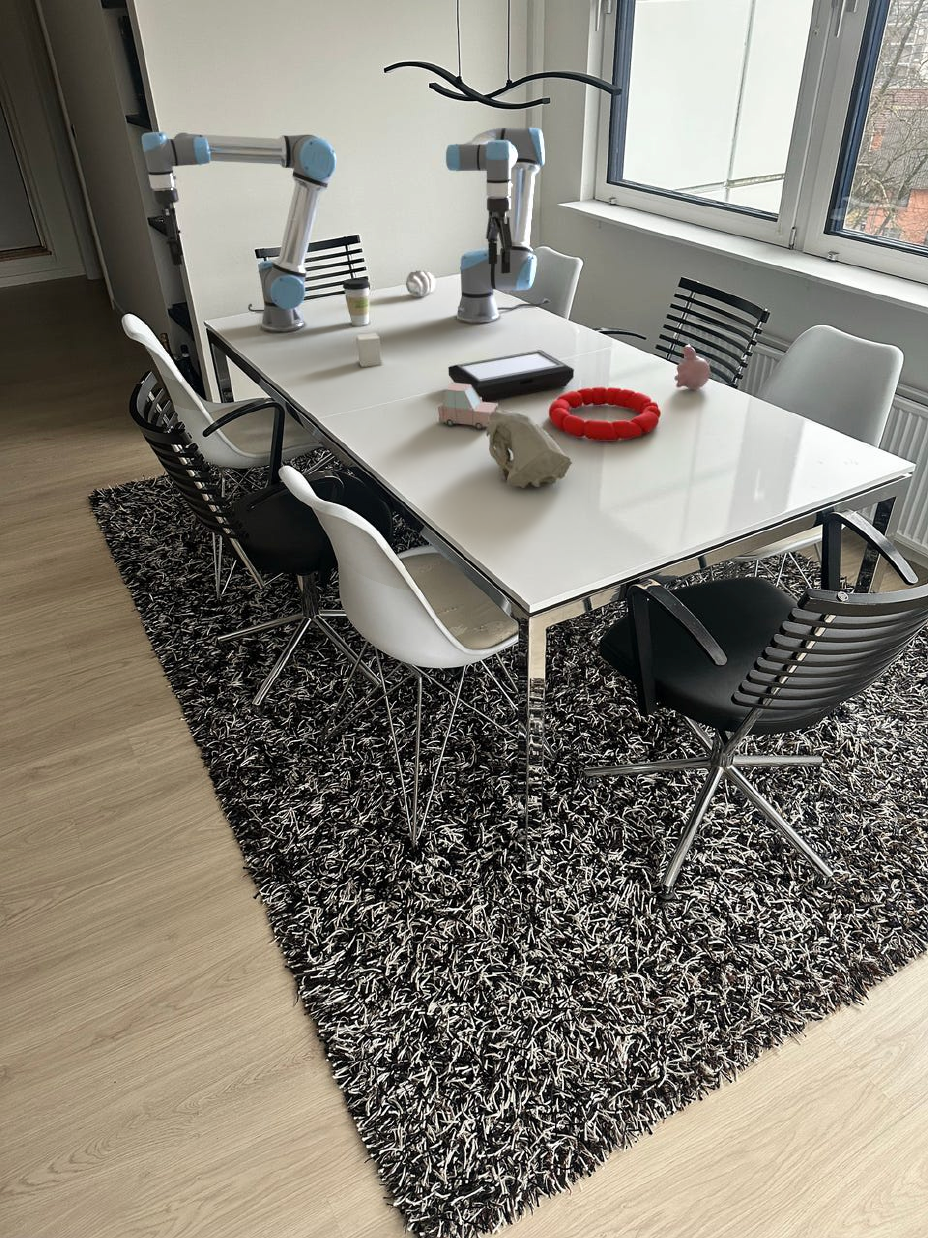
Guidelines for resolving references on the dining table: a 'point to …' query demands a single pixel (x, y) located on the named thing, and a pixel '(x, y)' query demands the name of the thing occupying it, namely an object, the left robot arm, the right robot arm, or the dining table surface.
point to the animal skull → (525, 450)
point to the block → (368, 349)
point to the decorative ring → (604, 428)
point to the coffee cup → (357, 300)
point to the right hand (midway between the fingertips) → (499, 268)
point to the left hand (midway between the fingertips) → (178, 259)
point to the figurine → (692, 370)
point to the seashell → (420, 283)
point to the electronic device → (512, 374)
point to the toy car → (465, 406)
